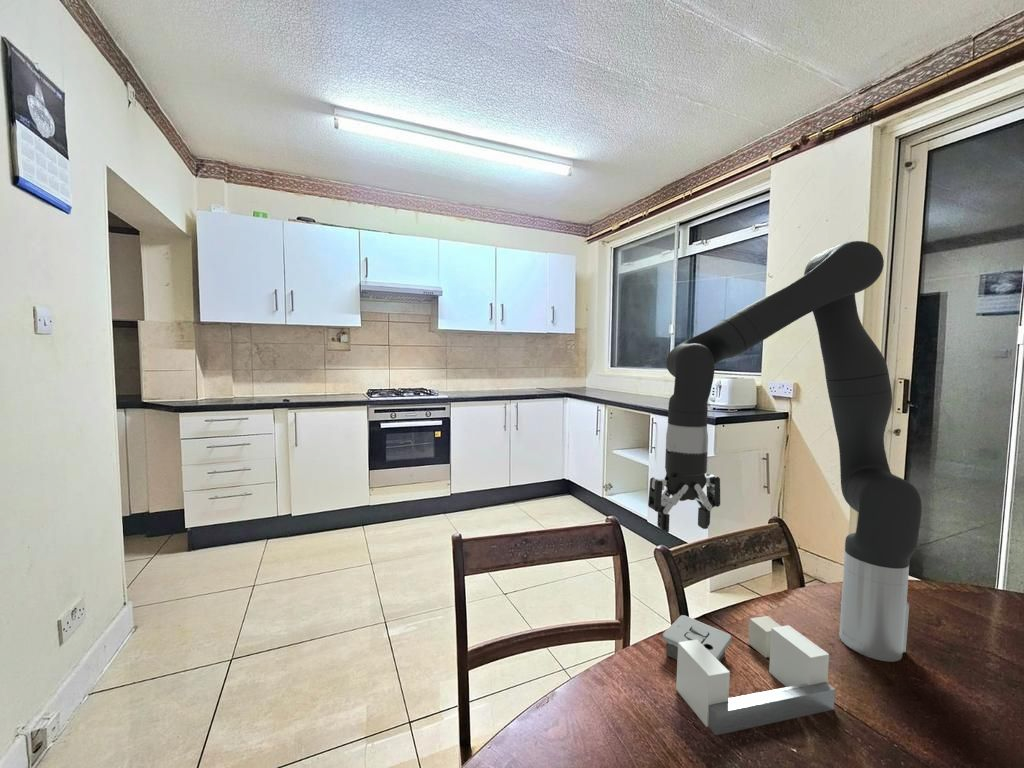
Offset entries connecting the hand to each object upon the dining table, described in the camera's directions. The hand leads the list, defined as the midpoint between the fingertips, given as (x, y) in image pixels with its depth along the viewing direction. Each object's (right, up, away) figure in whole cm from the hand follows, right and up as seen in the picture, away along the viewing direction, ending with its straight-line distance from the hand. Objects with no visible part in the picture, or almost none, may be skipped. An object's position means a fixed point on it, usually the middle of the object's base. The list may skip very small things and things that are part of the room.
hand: (683, 529), depth 85 cm
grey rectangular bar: (+6, -22, -20) cm, 30 cm away
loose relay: (+14, -21, -4) cm, 25 cm away
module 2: (+13, -21, -14) cm, 29 cm away
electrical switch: (+3, -21, -9) cm, 23 cm away
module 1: (-4, -21, -18) cm, 28 cm away
